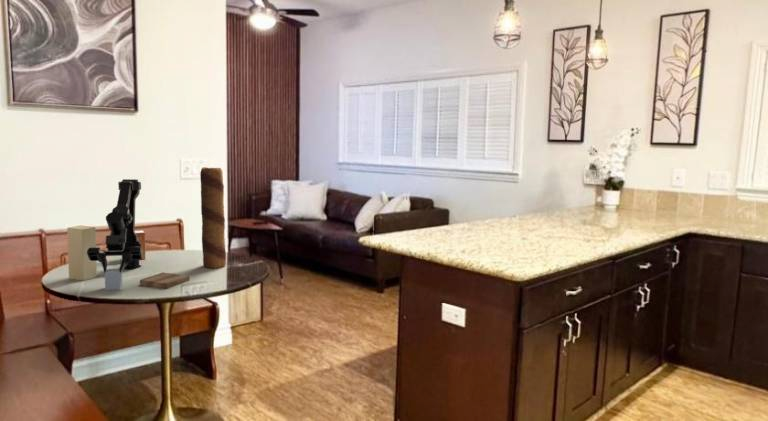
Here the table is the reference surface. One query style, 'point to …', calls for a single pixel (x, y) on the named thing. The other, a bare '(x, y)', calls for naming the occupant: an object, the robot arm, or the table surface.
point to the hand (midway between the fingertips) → (112, 272)
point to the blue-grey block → (113, 279)
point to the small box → (141, 241)
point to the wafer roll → (213, 217)
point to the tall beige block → (81, 252)
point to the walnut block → (164, 280)
